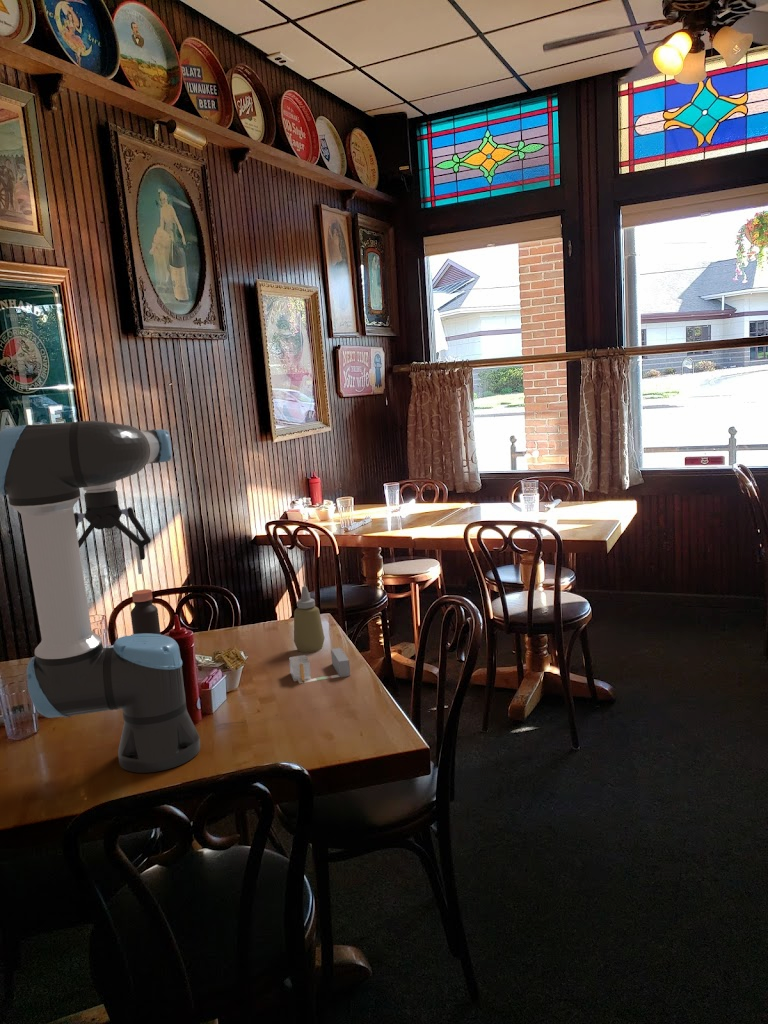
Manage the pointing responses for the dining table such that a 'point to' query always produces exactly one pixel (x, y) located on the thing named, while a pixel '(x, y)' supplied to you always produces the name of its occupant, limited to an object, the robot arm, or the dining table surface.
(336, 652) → the rail
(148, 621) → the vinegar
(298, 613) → the squeeze bottle
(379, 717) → the dining table surface
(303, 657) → the gauge carriage
